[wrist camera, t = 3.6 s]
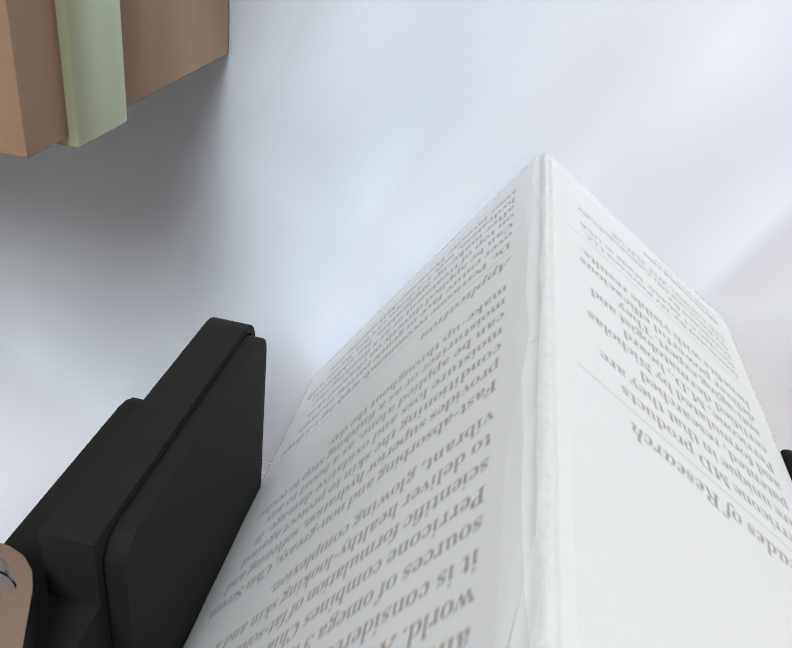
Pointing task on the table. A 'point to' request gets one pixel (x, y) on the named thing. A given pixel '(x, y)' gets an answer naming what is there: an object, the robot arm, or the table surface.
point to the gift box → (95, 63)
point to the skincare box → (522, 461)
